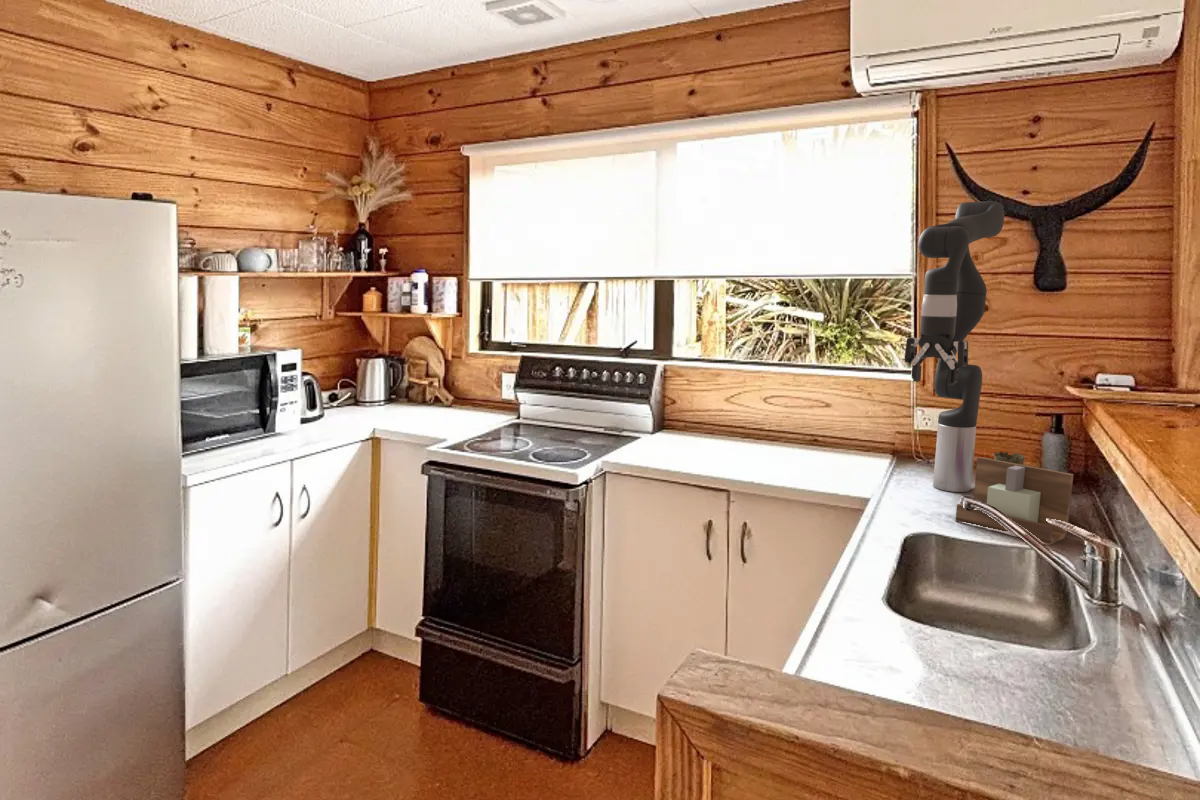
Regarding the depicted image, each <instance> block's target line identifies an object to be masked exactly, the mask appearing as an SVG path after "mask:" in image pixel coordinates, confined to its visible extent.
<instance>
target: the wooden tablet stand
mask: <svg viewBox="0 0 1200 800" xmlns="http://www.w3.org/2000/svg"><path fill="white" fill-rule="evenodd" d="M1012 466H1021V467H1025V474H1024V485H1023V489H1027V490H1032V491H1036V492H1041V495H1040V505H1039V515H1038V522H1034V521H1029V520H1025V519H1021V518H1017V517H1013V516H1008V515H1007V516H1008V517H1009V518H1011V519H1012V520H1013V521H1015V522H1016V523H1018V524H1019V525H1021V526H1022V527H1024V528H1025V529H1027V530H1028V531H1029V532H1031V533H1032V534H1033V535H1035V536H1036V537H1037V538H1039V539H1040V540H1041V541H1042V542H1044V543H1045V544H1047V545H1046V546H1048V545H1049V544H1051V545H1053V544H1055V543H1058V542H1059V541H1061V540H1062V541H1063V539H1066V538H1068V531H1067V532H1066V531H1065V530H1063V529H1062V528H1060V527H1058V526H1055V525H1052V524H1050V523H1048V522H1047V521H1046V518H1050V519H1056V520H1061V521H1065V522H1068V523H1069V519H1070V510H1071V509H1070V508H1071V500H1072V491H1073V482H1074V473H1068V472H1063V471H1058V470H1051V469H1049V468H1048V469H1047V468H1042V467H1037V466H1031V465H1027V464H1026V465H1025V464H1023V465H1021V464H1016V463H1010V462H1005V461H1000V460H994V459H992V458H989V457H988V458H987V457H982V456H978V457H977V459H976V467H975V468H976V469H975V470H976V471H975V481H974V492H973V500H974V499H977V500H979V501H982V502H984V503H987V494H988V487H990V486H993V485H996V484H1003V485H1006V475H1007V468H1009V467H1012ZM962 505H963V504H961V503H958V504H956V509H955V510H956V511H955V512H956V514H955V522H956V521H960V522H966V523H971V524H976V525H980V526H983V527H988V528H993V529H998V530H1002V531H1008V530H1006V529H1005V528H1004V527H1003V526H1001V525H1000V524H999V523H998V522H997V521H995V520H994V519H992V518H991V517H989V516H988V515H987V514H985V513H983V512H982V511H980V510H972V511H967V510H965V509H964V508H963V506H962ZM1049 546H1050V545H1049Z"/></svg>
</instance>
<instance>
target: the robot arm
mask: <svg viewBox="0 0 1200 800" xmlns="http://www.w3.org/2000/svg"><path fill="white" fill-rule="evenodd" d="M955 211H956V212H955V216H954V219H951V220H950V221H948V222H947V223H942V224H936V225H931V226H928V227H927V228H925V229H924V230H923V231H922V233H921V234H920V235H919V238H918V242H917V246H918V251H919V252H920V254H921V255H922V256H923V257H925V258H928V259H948V260H947V262H946V263H945V265H944V266H941V267H936V268H931V269H928V270H927V271H926V272H925V274H924V275H925V276H924V287H923V288H924V289H923V298H922V303H921V309H920V327H919V332H920V337H919V338H917V337H916V336H914V337H913V336H911V337H907V339H906V341H905V342H906V343H905V351H904V362H905V363H908V364H911V379H912V380H913V382H917V383H918V382H920V381H921V379H922V377H921V376H922V365H921V364H922V363H923V362H924V361H925V360H926V359H927V358H936V359H938V360H937V362H936V363H937V365H936V369H935V374H934V375H935V376H934V381H933V382H934V383H933V384H934V393H935V395H937V397H939V398H946V399H953V400H962V403H961V405H960V406H958V407H955V408H952V409H950V410H949V409H948V410H943V411H942V412H939V414H938V417H937V418H938V419H937V432H936V443H935V444H936V445H935V454H934V455H935V457H934V470H933V480H932V481H933V483H932V486H933V487H934V488H935V489H937V490H938V489H939V490H941V491H944V492H945V491H947V492H953V493H966V492H967V493H968V492H970V491H971V490H972V486H973V475H974V474H973V473H974V463H975V462H974V461H975V446H976V434H977V424H978V423H977V421H978V414H979V407H980V399H981V392H982V384H983V371H982V368H981V367H980V366H979V365H977V364H976V365H975V364H969V342H968V341H967V340H965V339H966V338H967V337H968V336H969V334H971V332H972V331H973V330H974V329H975V328H976V326H978V324H979V323H980V321H981V319H982V318H983V316H984V313H985V307H986V301H987V292H988V291H987V290H988V289H987V286H986V283H985V281H984V279H983V276H982V275H981V273H980V271H979V270H978V268H977V266H976V265H975V263H974V261H973V258H972V256H971V252H970V247H969V245H970V244H972V243H974V242H976V241H978V240H982V239H984V238H985V239H986V238H987V239H988V238H993V237H996V236H998V235H999V234H1000V233H1001V231H1002V230H1003V227H1004V223H1005V210H1004V207H1003V205H1002V204H1001V203H1000V202H999V201H996V200H995V201H993V200H986V201H985V200H983V201H981V200H980V201H967V202H962V203H960V204H959V205H958V207H957V209H956V210H955ZM918 346H919V347H920V350H919V351H918V352H917V353H916V348H917V347H918ZM956 355H957V356H956Z"/></svg>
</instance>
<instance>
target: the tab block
mask: <svg viewBox="0 0 1200 800" xmlns="http://www.w3.org/2000/svg"><path fill="white" fill-rule="evenodd" d="M1024 474H1025V467H1021V466H1012V467H1009V468H1007V475H1006V485H1003V484H996V485H993V486H990V487H988V494H987V504H989V505H991V506H993V507H995V508H997V509H998V510H1000V511H1002V512H1003V513H1004V514H1006V515H1008V516H1013V517H1017V518H1021V519H1025V520H1029V521H1034V522H1038V515H1039V505H1040V495H1041V492H1036V491H1032V490H1027V489H1023V485H1024Z"/></svg>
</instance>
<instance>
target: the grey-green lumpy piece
mask: <svg viewBox="0 0 1200 800" xmlns="http://www.w3.org/2000/svg"><path fill="white" fill-rule="evenodd" d="M993 456H994V457H993V458H994V460H1000V461H1005V462H1010V463H1016V464H1021V465H1024V461H1025V458H1026V456H1025V455H1022V453H1017V452H1016V451H1015V452H1013V453H1012V454H1009V452H1008V451H1005V452H1004V451H999V452H997V451H995V452H994V453H993Z"/></svg>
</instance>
